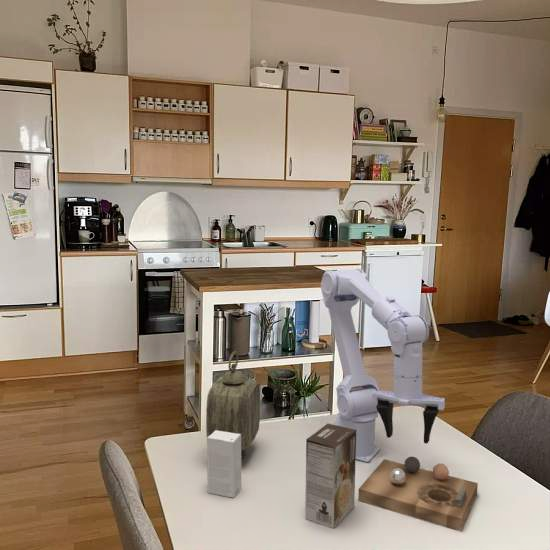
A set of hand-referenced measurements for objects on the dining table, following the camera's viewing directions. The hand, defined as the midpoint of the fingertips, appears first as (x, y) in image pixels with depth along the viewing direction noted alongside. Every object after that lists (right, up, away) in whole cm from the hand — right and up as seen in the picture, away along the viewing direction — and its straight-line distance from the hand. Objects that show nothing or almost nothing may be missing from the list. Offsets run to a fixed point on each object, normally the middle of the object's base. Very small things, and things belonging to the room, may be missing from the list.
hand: (407, 438), depth 117 cm
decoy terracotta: (+7, -7, 0) cm, 10 cm away
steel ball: (-3, -7, -3) cm, 8 cm away
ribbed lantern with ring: (-37, -8, +14) cm, 41 cm away
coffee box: (-17, -12, -9) cm, 22 cm away
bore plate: (+1, -11, -3) cm, 12 cm away
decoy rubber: (+2, -6, +3) cm, 7 cm away
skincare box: (-38, -11, -1) cm, 40 cm away
